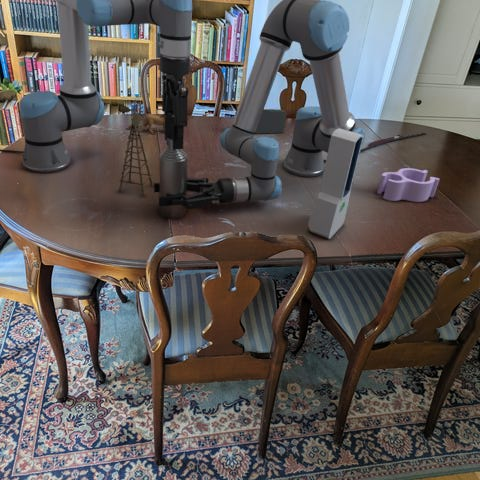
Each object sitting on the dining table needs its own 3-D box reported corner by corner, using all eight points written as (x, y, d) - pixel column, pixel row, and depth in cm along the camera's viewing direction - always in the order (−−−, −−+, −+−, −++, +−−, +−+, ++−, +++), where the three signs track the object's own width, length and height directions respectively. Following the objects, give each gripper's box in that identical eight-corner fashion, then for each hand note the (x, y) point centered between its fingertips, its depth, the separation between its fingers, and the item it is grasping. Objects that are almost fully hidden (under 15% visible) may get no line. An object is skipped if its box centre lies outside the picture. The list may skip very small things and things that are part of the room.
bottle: (159, 218, 136) (158, 143, 124) (160, 205, 143) (160, 133, 131) (185, 218, 138) (188, 145, 125) (185, 206, 144) (188, 134, 132)
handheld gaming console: (281, 130, 209) (284, 108, 204) (284, 133, 207) (287, 110, 202) (233, 132, 202) (235, 109, 197) (235, 134, 200) (237, 111, 195)
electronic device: (328, 241, 134) (351, 142, 118) (305, 232, 137) (324, 134, 121) (344, 224, 143) (367, 130, 127) (322, 215, 146) (342, 123, 130)
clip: (390, 204, 157) (396, 186, 154) (370, 187, 167) (375, 170, 163) (438, 200, 164) (444, 182, 160) (416, 184, 173) (422, 167, 170)
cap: (166, 147, 127) (166, 139, 126) (166, 141, 130) (166, 134, 129) (181, 148, 127) (181, 140, 126) (181, 142, 131) (181, 135, 129)
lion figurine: (173, 128, 199) (174, 107, 194) (176, 132, 195) (177, 111, 190) (139, 129, 194) (138, 108, 189) (141, 134, 190) (140, 112, 185)
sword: (406, 133, 221) (407, 131, 220) (412, 136, 219) (412, 133, 218) (363, 145, 205) (363, 143, 204) (368, 148, 203) (369, 145, 202)
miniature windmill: (143, 196, 146) (140, 101, 130) (117, 192, 147) (112, 96, 131) (153, 184, 154) (152, 93, 137) (129, 180, 155) (125, 88, 138)
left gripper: (149, 47, 122) (150, 133, 134) (173, 65, 108) (172, 159, 120) (176, 47, 125) (175, 131, 137) (203, 65, 111) (199, 156, 123)
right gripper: (240, 217, 136) (162, 223, 129) (221, 185, 152) (151, 189, 146) (242, 195, 132) (162, 200, 125) (223, 164, 148) (151, 167, 142)
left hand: (173, 144), depth 129 cm, fingers open, 6 cm apart
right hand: (156, 194), depth 135 cm, fingers closed on bottle, 8 cm apart
